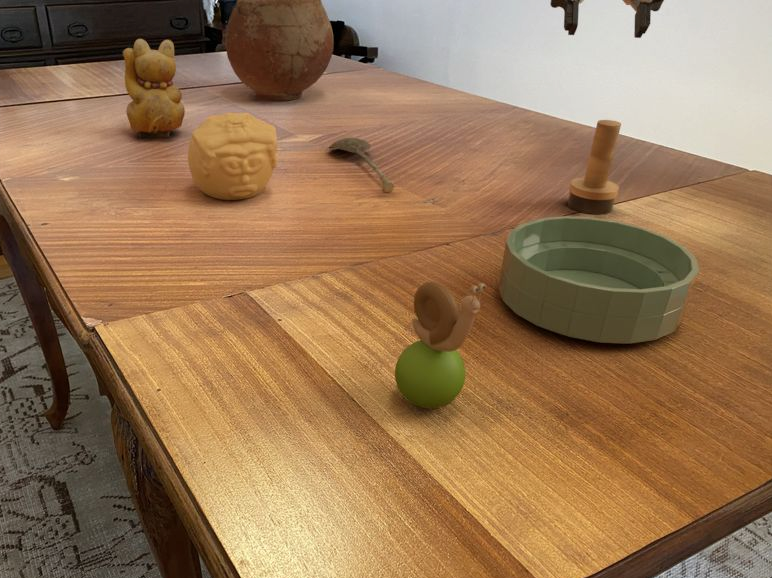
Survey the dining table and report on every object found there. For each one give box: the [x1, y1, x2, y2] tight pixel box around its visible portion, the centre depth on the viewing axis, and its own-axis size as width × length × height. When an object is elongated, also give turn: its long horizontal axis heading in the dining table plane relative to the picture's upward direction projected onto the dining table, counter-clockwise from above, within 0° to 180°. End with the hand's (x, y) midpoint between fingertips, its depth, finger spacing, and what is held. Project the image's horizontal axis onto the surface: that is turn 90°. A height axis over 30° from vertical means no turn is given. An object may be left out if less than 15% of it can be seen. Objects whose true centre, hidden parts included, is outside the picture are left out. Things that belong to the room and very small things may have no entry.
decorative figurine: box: [122, 38, 186, 139], centre depth 117 cm, size 10×8×15 cm
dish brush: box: [567, 119, 622, 215], centre depth 91 cm, size 6×6×11 cm
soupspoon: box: [328, 137, 396, 194], centre depth 106 cm, size 22×3×7 cm
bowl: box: [497, 215, 700, 345], centre depth 69 cm, size 17×17×6 cm
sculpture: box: [187, 111, 278, 201], centre depth 94 cm, size 12×12×11 cm
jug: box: [224, 0, 335, 102], centre depth 138 cm, size 22×22×30 cm
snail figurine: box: [394, 281, 486, 409], centre depth 53 cm, size 5×6×12 cm
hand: (606, 32), depth 93 cm, fingers open, 8 cm apart
